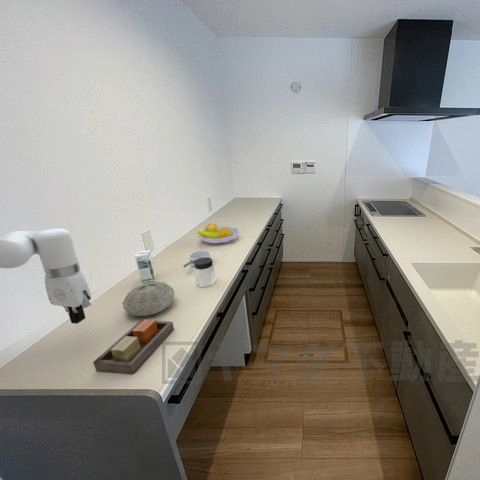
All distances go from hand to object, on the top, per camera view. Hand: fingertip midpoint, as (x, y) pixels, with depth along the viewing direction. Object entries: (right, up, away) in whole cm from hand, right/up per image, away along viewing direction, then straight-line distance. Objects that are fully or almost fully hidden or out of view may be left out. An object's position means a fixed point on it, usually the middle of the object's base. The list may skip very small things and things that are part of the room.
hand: (78, 320), depth 85 cm
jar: (+23, +5, +44) cm, 49 cm away
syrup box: (-7, +6, +46) cm, 47 cm away
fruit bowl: (+7, +26, +99) cm, 102 cm away
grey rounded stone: (+8, -2, +24) cm, 26 cm away
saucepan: (+10, +11, +60) cm, 62 cm away
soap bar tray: (+18, -10, +3) cm, 20 cm away
